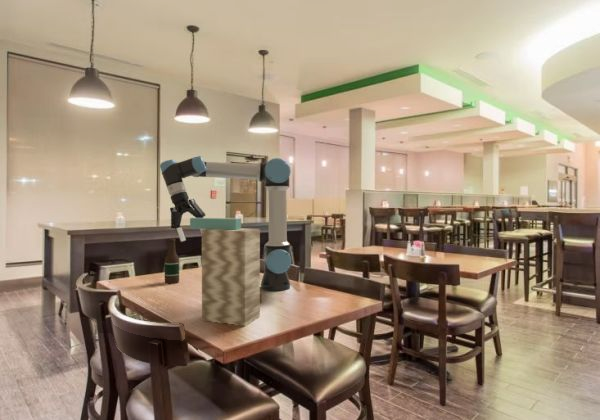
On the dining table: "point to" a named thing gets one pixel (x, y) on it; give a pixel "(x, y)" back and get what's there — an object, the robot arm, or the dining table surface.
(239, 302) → the tall wood-grain block
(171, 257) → the beer bottle
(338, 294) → the dining table surface
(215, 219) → the bar
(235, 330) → the dining table surface
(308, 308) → the dining table surface
